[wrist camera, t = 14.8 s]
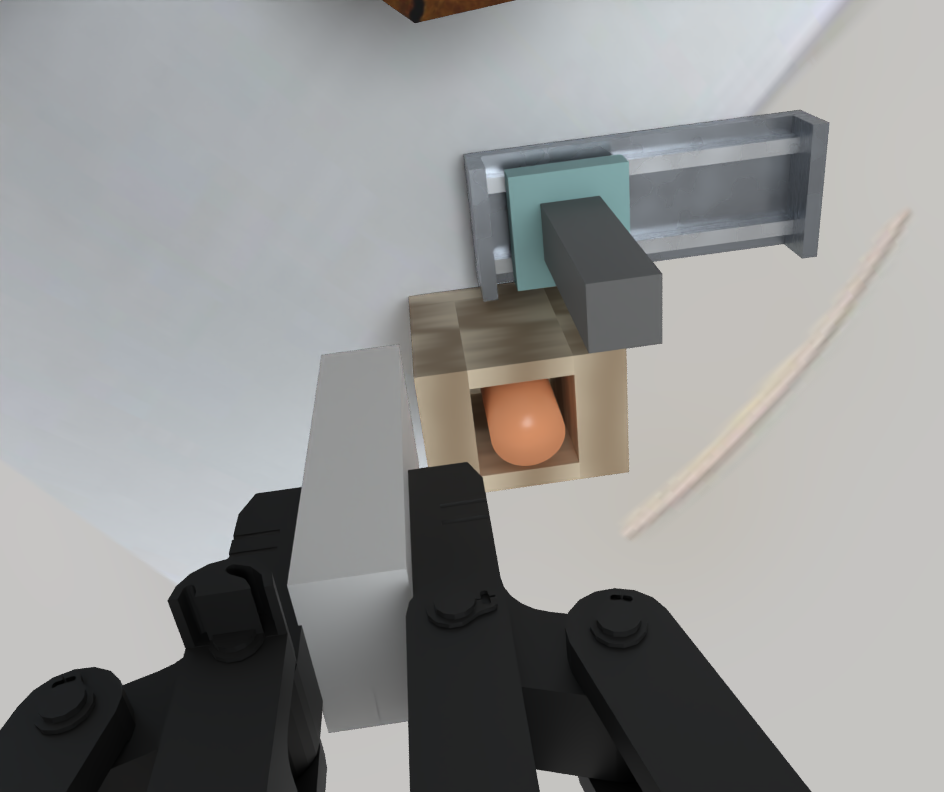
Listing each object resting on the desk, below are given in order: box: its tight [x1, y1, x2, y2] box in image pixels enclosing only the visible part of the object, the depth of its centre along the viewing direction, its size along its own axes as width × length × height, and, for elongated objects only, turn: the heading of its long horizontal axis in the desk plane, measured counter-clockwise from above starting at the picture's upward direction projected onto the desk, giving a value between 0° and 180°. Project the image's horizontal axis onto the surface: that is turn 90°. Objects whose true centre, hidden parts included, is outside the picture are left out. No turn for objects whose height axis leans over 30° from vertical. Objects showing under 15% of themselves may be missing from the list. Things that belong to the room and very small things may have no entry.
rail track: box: [464, 110, 829, 302], centre depth 45 cm, size 18×7×3 cm, turn 96°
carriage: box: [504, 154, 662, 354], centre depth 39 cm, size 6×6×13 cm
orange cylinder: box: [480, 379, 565, 466], centre depth 44 cm, size 4×4×8 cm
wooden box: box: [409, 282, 629, 492], centre depth 46 cm, size 10×7×10 cm
